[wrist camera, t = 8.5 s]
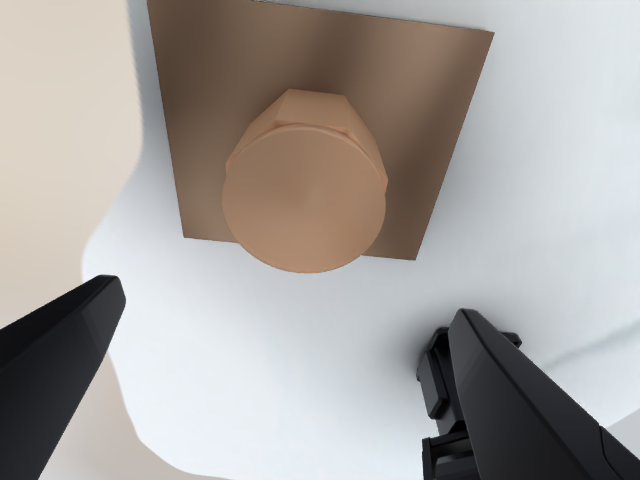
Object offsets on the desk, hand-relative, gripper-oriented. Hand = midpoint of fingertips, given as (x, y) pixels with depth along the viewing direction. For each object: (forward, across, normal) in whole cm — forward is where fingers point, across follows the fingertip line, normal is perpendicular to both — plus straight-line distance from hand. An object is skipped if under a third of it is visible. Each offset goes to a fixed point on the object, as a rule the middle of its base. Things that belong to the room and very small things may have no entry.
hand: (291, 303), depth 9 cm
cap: (+10, 0, 0) cm, 10 cm away
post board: (+11, 0, 0) cm, 11 cm away
